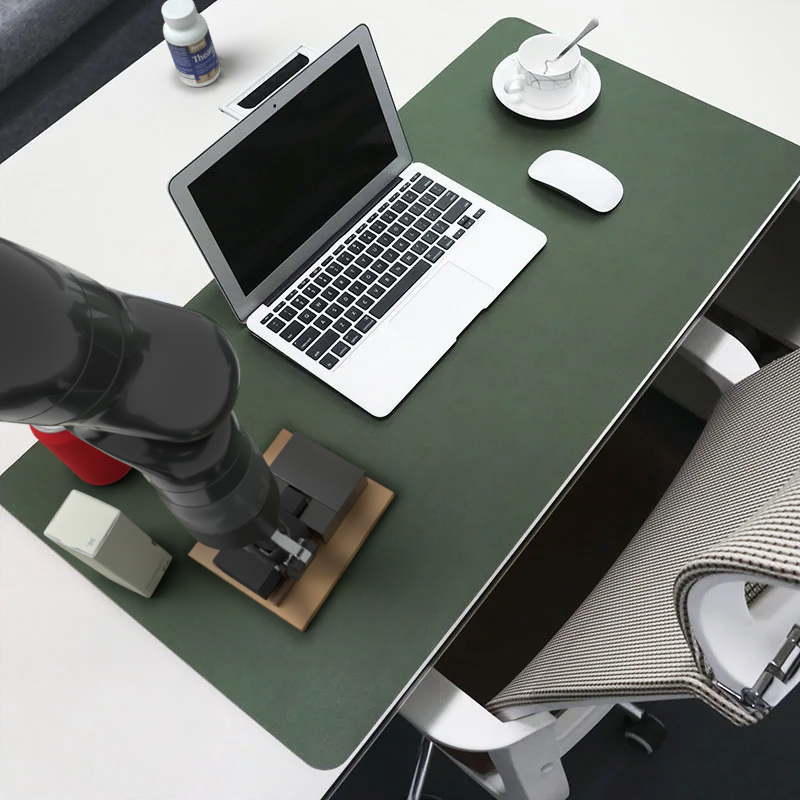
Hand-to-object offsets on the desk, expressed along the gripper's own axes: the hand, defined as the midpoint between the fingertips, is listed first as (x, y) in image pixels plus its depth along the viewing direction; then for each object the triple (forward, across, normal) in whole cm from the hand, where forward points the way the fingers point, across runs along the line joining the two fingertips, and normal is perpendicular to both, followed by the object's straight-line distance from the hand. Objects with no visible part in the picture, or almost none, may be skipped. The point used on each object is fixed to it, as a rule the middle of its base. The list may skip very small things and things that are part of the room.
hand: (265, 551), depth 75 cm
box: (+2, -10, -7) cm, 13 cm away
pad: (+1, 0, 0) cm, 1 cm away
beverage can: (+2, -20, 0) cm, 20 cm away
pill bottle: (+3, -46, +47) cm, 66 cm away
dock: (+2, 0, +4) cm, 4 cm away
